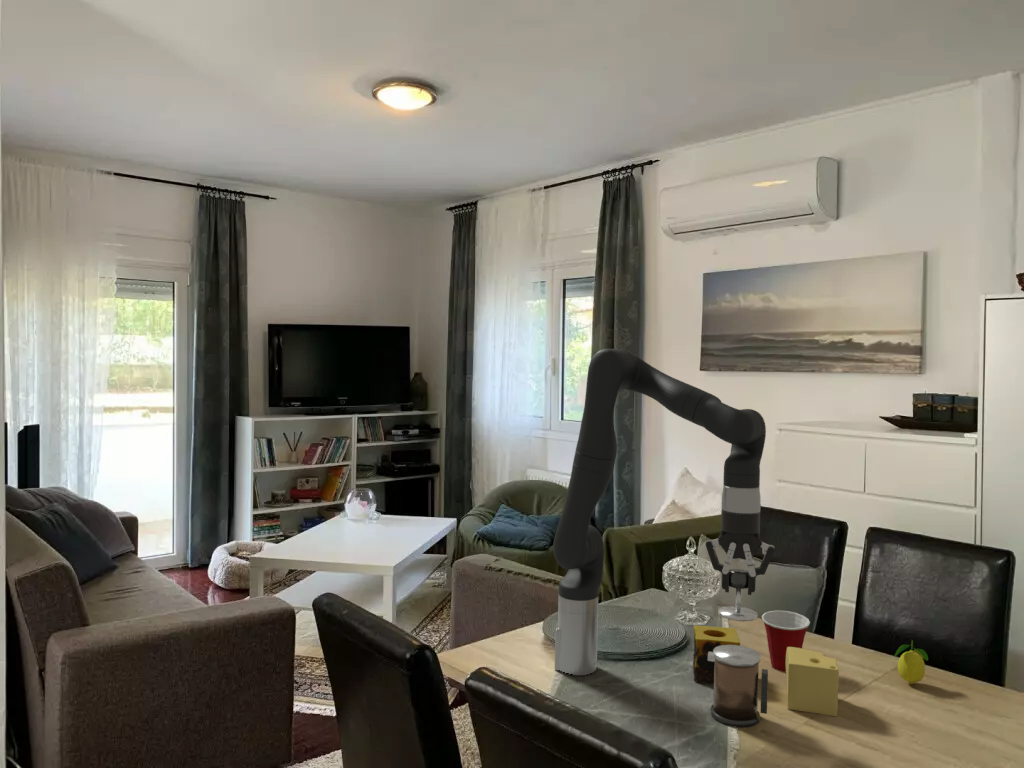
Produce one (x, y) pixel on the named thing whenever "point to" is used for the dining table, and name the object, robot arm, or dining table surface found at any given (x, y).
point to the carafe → (737, 686)
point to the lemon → (911, 664)
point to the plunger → (738, 598)
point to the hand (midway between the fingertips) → (738, 592)
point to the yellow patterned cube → (709, 649)
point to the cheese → (811, 681)
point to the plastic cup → (783, 634)
